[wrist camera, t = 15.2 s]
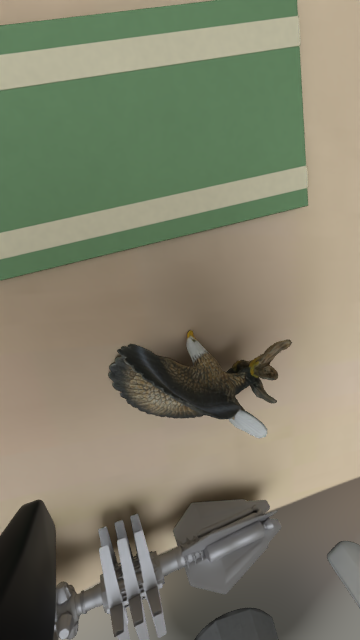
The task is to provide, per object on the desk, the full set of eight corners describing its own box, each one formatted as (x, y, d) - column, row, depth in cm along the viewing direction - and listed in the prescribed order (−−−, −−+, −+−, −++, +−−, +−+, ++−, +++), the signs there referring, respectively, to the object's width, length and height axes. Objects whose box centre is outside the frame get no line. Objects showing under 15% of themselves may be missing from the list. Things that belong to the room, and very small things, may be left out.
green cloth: (-42, 289, 16) (-48, 292, 15) (-157, 52, 12) (-170, 43, 12) (302, 206, 19) (309, 205, 18) (289, -2, 15) (297, -11, 15)
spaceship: (-589, 876, 10) (-550, 1130, 10) (293, 483, 20) (323, 604, 20) (-297, 650, 18) (-270, 790, 17) (238, 447, 28) (259, 534, 28)
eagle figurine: (255, 287, 19) (106, 305, 15) (329, 391, 15) (151, 449, 11) (216, 357, 24) (101, 382, 21) (262, 446, 20) (129, 495, 17)
